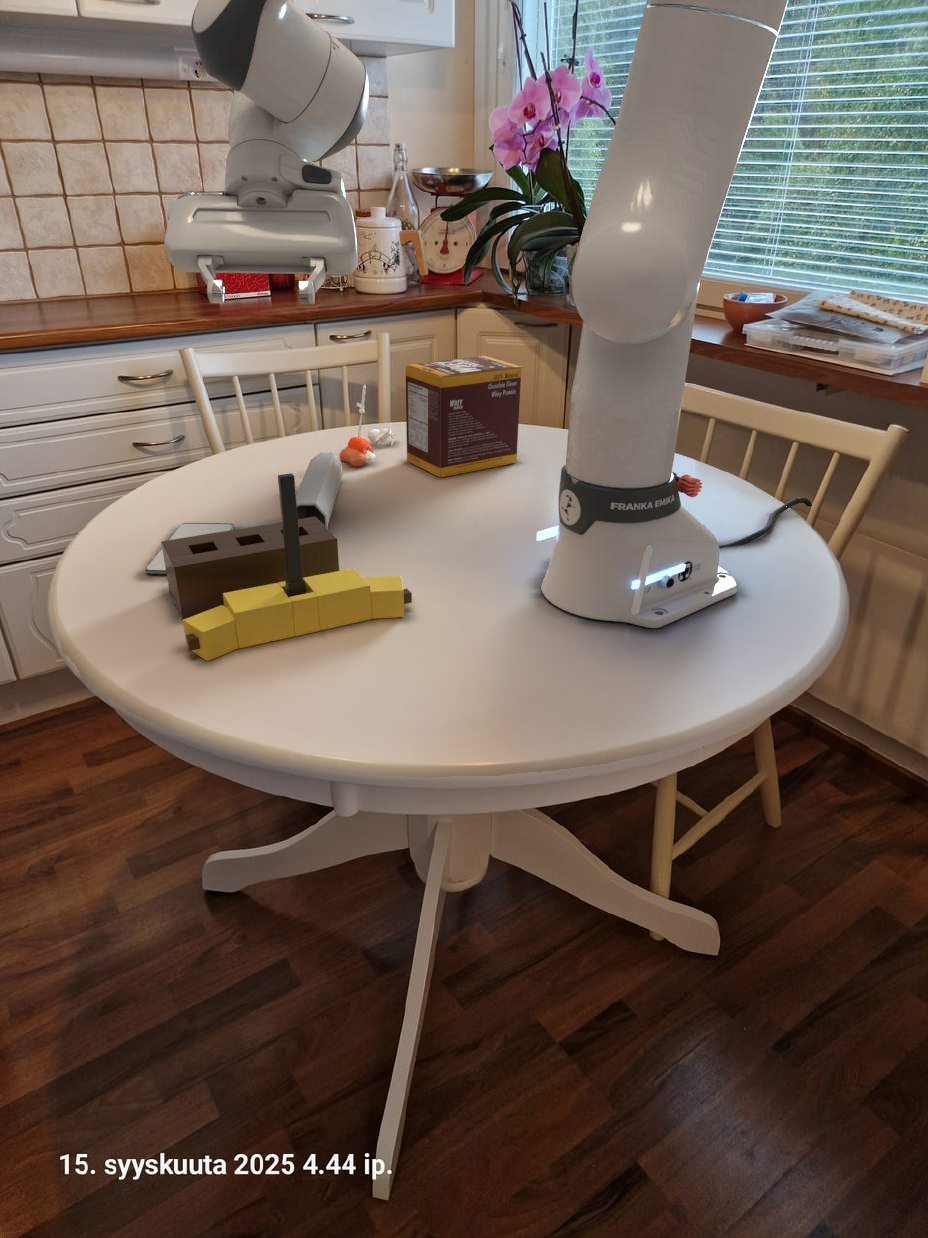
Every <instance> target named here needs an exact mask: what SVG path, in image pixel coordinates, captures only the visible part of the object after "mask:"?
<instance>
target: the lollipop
mask: <svg viewBox="0 0 928 1238" xmlns="http://www.w3.org/2000/svg"><path fill="white" fill-rule="evenodd" d="M366 392H367V385H366V384H363V385H362V393H361V401H360V402H356V404H355V406H356V407H359V409H358V413H359V415H360V417H359V425H358V431H357V436H352V437H350V439H349V440H348V442H347V446H346V447H344V448H343V449H342V450H341V451H340V453H339V460H340V461H343V462H348V463H349V464H350V465H352V466H354V467H360V466H363V465H364V464H367V465H371V464H373V463H374V462H375V460H376V454H375V453H374V449H373V447H372V446H371V445H370V444H369V440H367V439H366V438H364V437H361V432H362V424H363V423H362V422H363V414H365V412H366V411H365V401H366V394H367V393H366Z"/></svg>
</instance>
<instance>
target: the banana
mask: <svg viewBox="0 0 928 1238" xmlns="http://www.w3.org/2000/svg"><path fill="white" fill-rule="evenodd" d="M303 579H304V580H305V587H306V594H301V595H296V596H291V597H288V596H287V594H286V583H285V581H283V582H278V583H274V584H268V585H263V586H258V587H253V588H248V589H242V590H237V591H232V592H227V593H223V600H224V606H223V605H221V606H218V607H215V608H213V609H210V610H207V611H205V612H202V613H200V614H197V615H194V616H192V617H189V618H185V619H182V624H183V629H184V636H185V643H186V648H187V649H188V650H189V651H190V652H193V653H194V654H195V655H197V656H199V657H200V658H202V659H203V660H205V661H206V662H210V661H212V660H214V659H216V658H219V657H222V656H224V655H226V654H228V653H231V652H233V651H235V650H238V649H244V648H248V647H254V646H257V645H262V644H266V643H270V642H275V641H281V640H285V639H289V638H294V637H299V636H303V635H308V634H312V633H316V632H320V631H325V630H329V629H333V628H334V629H335V628H339V627H343V626H348V625H352V624H356V623H361V622H365V621H371V620H374V619H375V620H376V619H391V618H405V605H407V604H412V602H413V595H412V591H410V590H409V589H408V588H404V584H403V577H402V575H390V576H387V575H386V576H367V577H362V575H361V574H360V573H359V572H358V571H357V570H356V569H355V568H354V567H352V568H347V569H342V570H341V569H340V570H339V571H336V572H331V573H326V574H320V575H315V576H310V577H305V578H303Z"/></svg>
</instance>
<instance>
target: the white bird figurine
mask: <svg viewBox="0 0 928 1238" xmlns="http://www.w3.org/2000/svg"><path fill="white" fill-rule="evenodd" d="M394 424H395V422H393V423H392V424H391V425H390V426H389V427H388V428H387V427H385V428H380V429H377V428H373V429H370V430H369V431H368V432H367V438H368V441H371V442H372V443H375V444H376V445H377V444H378V443H380V442H381V443H382V442H386V441H387V440H389V438H390V437H391V442H390V446H391V447H392V446H393V444H394V439H395V437H396V435H397V433H396V432H395V433H393V431H392V428H393V426H394Z"/></svg>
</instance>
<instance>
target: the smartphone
mask: <svg viewBox="0 0 928 1238" xmlns="http://www.w3.org/2000/svg"><path fill="white" fill-rule="evenodd" d="M229 530H235V524H234V523H229V522H228V523H227V522H225V523H223V522H222V523H221V522H219V523H218V522H215V523H214V522H184V523H181V524H179V526H178V527H177V529H175V531H174V532H173V533H172V534H171V536H170V537H169V539H168V540H173V539H179V538H185V537H191V536H198V535H204V534H210V533H216V532H223V531H229ZM144 571H145V572H146V573H147V574H153V575H157V574H158V575H167V574H166V568H165V562H164V556H163V551H162V547H161V548H160V550H159V551H158V552H157V553H156V554H155V556H154V557H153V558H152V560H151V561H150V562H149V563H148V565H147V566H146V567H145V568H144Z"/></svg>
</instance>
